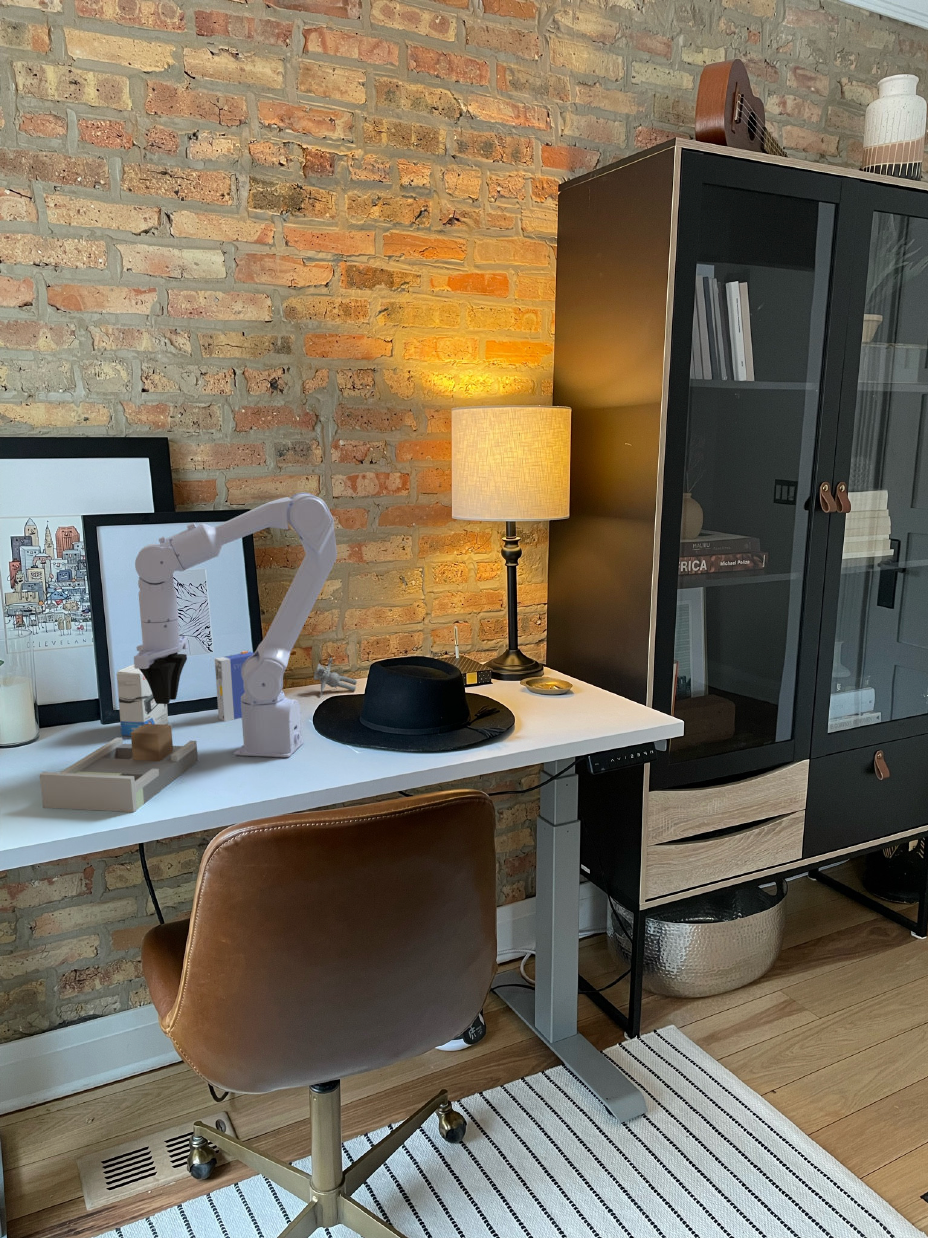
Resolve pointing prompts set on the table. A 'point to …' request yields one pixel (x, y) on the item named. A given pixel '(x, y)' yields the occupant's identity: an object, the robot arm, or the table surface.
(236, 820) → the table surface
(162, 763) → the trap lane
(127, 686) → the ink box
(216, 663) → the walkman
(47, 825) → the table surface
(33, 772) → the table surface
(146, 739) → the walnut block
